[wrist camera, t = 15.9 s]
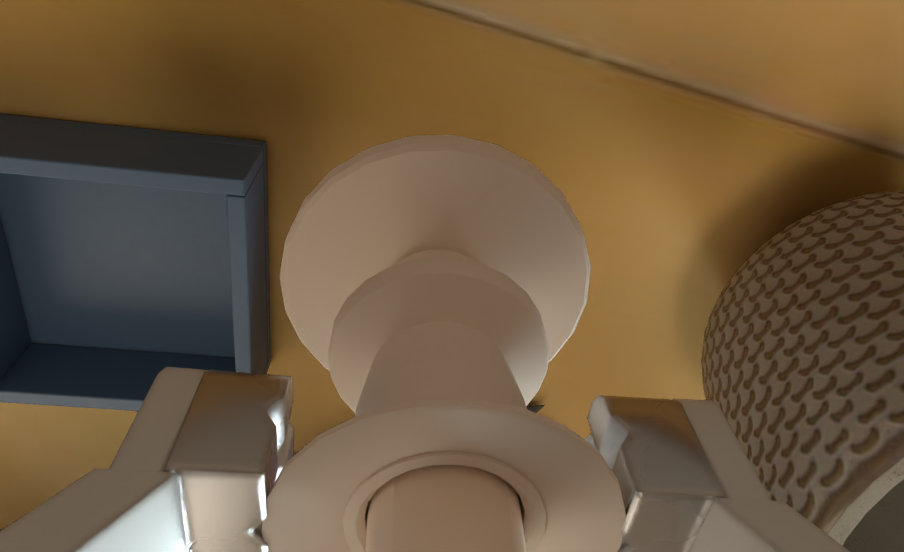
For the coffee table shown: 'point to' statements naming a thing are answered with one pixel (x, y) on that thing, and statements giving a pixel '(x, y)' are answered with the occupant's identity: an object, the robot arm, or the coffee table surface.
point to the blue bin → (127, 259)
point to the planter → (821, 368)
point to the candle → (439, 359)
